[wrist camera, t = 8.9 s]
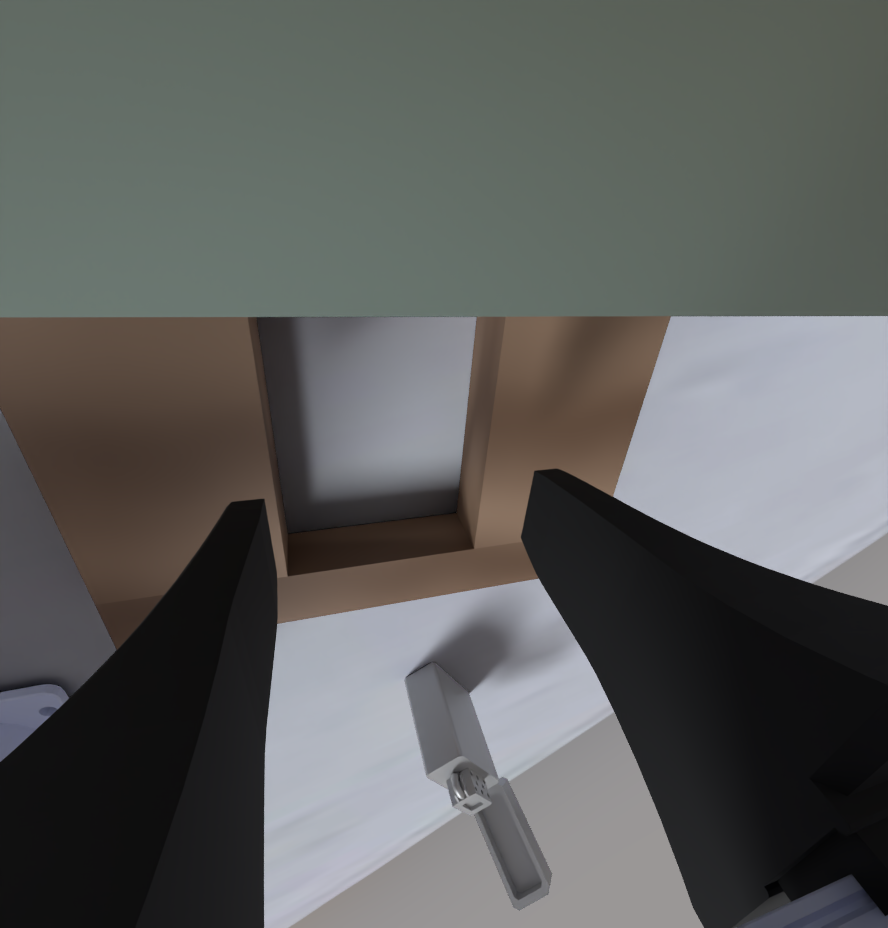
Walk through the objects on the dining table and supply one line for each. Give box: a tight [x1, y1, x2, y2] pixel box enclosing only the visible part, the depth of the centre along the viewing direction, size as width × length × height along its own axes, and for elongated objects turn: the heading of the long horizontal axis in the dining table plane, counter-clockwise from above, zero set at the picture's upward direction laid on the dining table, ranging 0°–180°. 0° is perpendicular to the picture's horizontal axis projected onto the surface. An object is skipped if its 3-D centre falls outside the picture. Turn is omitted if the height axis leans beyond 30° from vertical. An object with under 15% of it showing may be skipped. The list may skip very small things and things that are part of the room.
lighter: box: [405, 663, 552, 910], centre depth 20 cm, size 7×2×8 cm, turn 28°
